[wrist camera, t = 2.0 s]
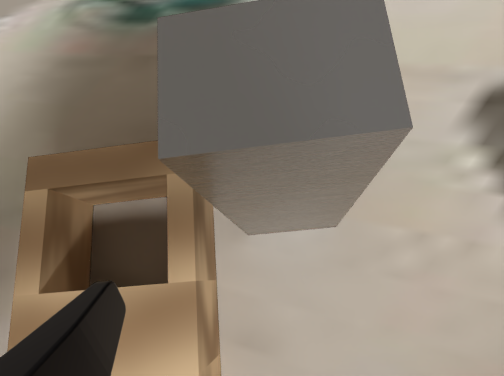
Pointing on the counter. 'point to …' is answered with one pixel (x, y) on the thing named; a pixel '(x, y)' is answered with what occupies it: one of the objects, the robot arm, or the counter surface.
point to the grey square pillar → (280, 107)
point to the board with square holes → (135, 297)
